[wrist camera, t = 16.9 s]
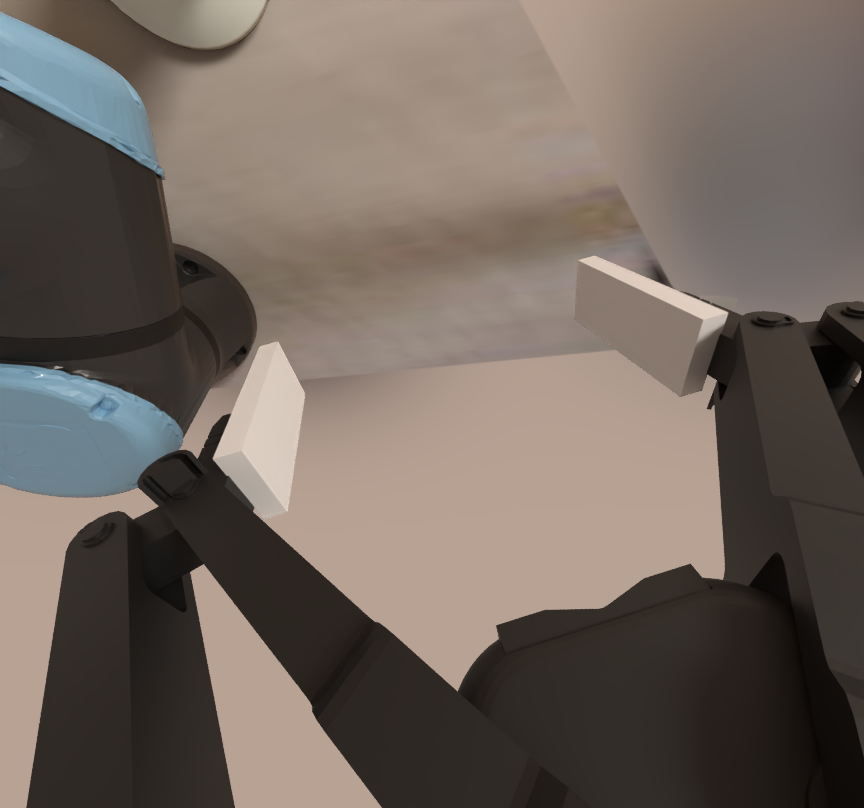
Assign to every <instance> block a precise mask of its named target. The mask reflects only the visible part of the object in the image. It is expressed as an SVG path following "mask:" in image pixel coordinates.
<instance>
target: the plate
mask: <svg viewBox="0 0 864 808" xmlns="http://www.w3.org/2000/svg"><path fill="white" fill-rule="evenodd" d="M111 1H112V2H113V3H114V4H115V5H116V6H117V7H118V8H119V9H120V10H121V11H123V12H124V13H125V14H127V15H128V16H129V17H130V18H132V19H133V20H134V21H135V22H137V23H138V24H140V25H142V26H143V27H145V28H146V29H148V30H149V31H151V32H153V33H154V34H156V35H158V36H160V37H162V38H164V39H166V40H168V41H170V42H172V43H175V44H177V45H180V46H183V47H187V48H192V49H197V50H215V49H222V48H225V47H228V46H231V45H233V44H235V43H237V42H239V41H240V40H242V39H243V38H244V37H246V36H247V35H248V34H249V33H250V32H251V31H252V30H253V29H254V27H255V26H256V25H257V24H258V22H259V20H260V19H261V17H262V15H263V13H264V11H265V9H266V6H267V4H268V1H269V0H111Z"/></svg>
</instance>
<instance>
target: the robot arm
mask: <svg viewBox="0 0 864 808" xmlns="http://www.w3.org/2000/svg"><path fill="white" fill-rule="evenodd" d="M162 180H165V174H164V171H163V169H162V168H161V167H160V166H159V165H158V160H157V156H156V151H155V146H154V142H153V137H152V132H151V128H150V123H149V118H148V114H147V111H146V108H145V106H144V104H143V102H142V100H141V98H140V96H139V95H138V93H137V92H136V91H135V89H134V88H133V87H132V86H131V85H130V84H129V83H128V81H127V80H126V79H125V78H124V77H123V76H121V75H120V74H119V73H118V72H116V71H115V70H114V69H112V68H111V67H110V66H108V65H107V64H105V63H103V62H102V61H100V60H99V59H97V58H95V57H94V56H92V55H90V54H88V53H86V52H84V51H82V50H81V49H79V48H77V47H75V46H73V45H71V44H69V43H67V42H65V41H62V40H60V39H58V38H56V37H54V36H52V35H50V34H48V33H46V32H44V31H42V30H40V29H37V28H35V27H33V26H31V25H29V24H27V23H24V22H22V21H20V20H18V19H16V18H13V17H11V16H9V15H7V14H4V13H2V12H0V484H2V485H6V486H9V487H12V488H15V489H18V490H22V491H26V492H31V493H36V494H42V495H49V496H58V497H101V496H108V495H114V494H118V493H123V492H127V491H129V490H132V489H135V488H137V487H138V488H139V489H140V490H142V491H143V492H144V493H145V494H146V495H147V496H148V497H149V498H150V499H152V500H153V501H154V502H155V503H156V504H157V505H158V506H159V507H157V508H155V509H153V510H151V511H149V512H147V513H145V514H143V515H141V516H140V517H137V518H135V519H134V520H133V519H132V518H130V517H129V516H128V515H127V514H126V513H124V512H120V511H117V512H112V513H108V514H106V515H104V516H102V517H99V518H97V519H96V520H94V521H93V522H91V523H89V524H88V525H86V526H85V527H84V528H83V529H81V530H80V531H79V532H78V533H77V535H76V536H75V537H74V538H73V540H72V541H71V542H70V544H69V546H68V548H67V551H66V556H65V563H64V569H63V576H62V581H61V588H60V595H59V602H58V607H57V614H56V620H55V627H54V633H53V640H52V646H51V652H50V659H49V666H48V672H47V678H46V685H45V691H44V698H43V704H42V711H41V718H40V723H39V730H38V736H37V743H36V749H35V756H34V762H33V769H32V775H31V781H30V788H29V795H28V801H27V807H26V808H235V806H234V801H233V795H232V790H231V785H230V780H229V774H228V769H227V764H226V758H225V754H224V748H223V743H222V737H221V732H220V727H219V722H218V716H217V711H216V706H215V701H214V696H213V690H212V685H211V679H210V674H209V670H208V664H207V659H206V653H205V648H204V643H203V637H202V632H201V627H200V622H199V616H198V611H197V606H196V601H195V596H194V590H193V585H192V580H191V574H190V572H191V571H192V570H194V569H196V568H197V567H199V566H201V565H203V564H204V565H205V566H206V567H207V569H208V570H209V571H210V572H211V574H212V575H213V576H214V578H215V579H216V580H217V581H218V583H219V584H220V585H221V586H222V588H223V589H224V591H225V592H226V593H227V594H228V596H229V597H230V598H231V599H232V601H233V602H234V604H235V605H236V606H237V607H238V609H239V610H240V611H241V613H242V614H243V615H244V617H245V618H246V619H247V620H248V622H249V623H250V624H251V626H252V627H253V628H254V629H255V631H256V632H257V633H258V634H259V636H260V637H261V639H262V640H263V641H264V642H265V644H266V645H267V646H268V648H269V649H270V650H271V651H272V653H273V654H274V655H275V657H276V658H277V659H278V660H279V662H280V663H281V664H282V666H283V667H284V668H285V669H286V671H287V672H288V674H289V675H290V676H291V677H292V679H293V680H294V681H295V683H296V684H297V685H298V686H299V688H300V689H301V690H302V692H303V693H304V694H305V696H306V697H307V698H308V700H309V701H310V703H311V705H312V712H313V714H314V716H315V718H316V719H317V721H318V723H319V724H320V725H321V727H322V728H323V730H324V731H325V733H326V734H327V735H328V737H329V738H330V739H331V740H332V742H333V743H334V745H335V746H336V747H337V748H338V750H339V751H340V752H341V754H342V755H343V756H344V757H345V759H346V760H347V762H348V763H349V764H350V766H351V767H352V768H353V770H354V771H355V772H356V774H357V775H358V776H359V777H360V779H361V780H362V782H363V783H364V784H365V786H366V787H367V788H368V790H369V791H370V792H371V794H372V795H373V796H374V798H375V799H376V800H377V802H378V803H379V804H380V806H381V807H382V808H864V303H863V302H859V301H855V302H842V303H835V304H832V305H830V306H827V308H826V309H825V312H824V313H823V315H822V317H821V319H820V321H814V322H804V323H799V322H798V321H797V320H796V319H795V318H793V317H791V316H789V315H785V314H781V313H777V312H767V311H766V312H765V311H762V312H751V313H747V314H745V315H743V316H742V315H740V314H737V313H735V312H733V311H730V310H728V309H725V308H723V307H721V306H718V305H716V304H713V303H712V304H710V302H709V301H706V300H704V299H701V300H700V298H699V297H697V296H694V295H692V294H689V293H686V292H681V291H677V290H674V289H672V288H670V287H667V286H665V285H662V284H660V283H658V282H655V281H653V280H651V279H648V278H646V277H644V276H641V275H639V274H637V273H634V272H632V271H629V270H627V269H625V268H622V267H620V266H618V265H615V264H613V263H611V262H608V261H606V260H604V259H601V258H599V257H596V256H592V257H588V258H584V259H581V260H578V267H577V284H576V301H575V318H574V319H575V320H576V321H578V322H579V323H580V324H582V325H583V326H584V327H586V328H587V329H588V330H590V331H591V332H593V333H594V334H595V335H597V336H598V337H599V338H601V339H602V340H603V341H605V342H606V343H607V344H609V345H610V346H612V347H613V348H614V349H616V350H617V351H618V352H620V353H621V354H622V355H624V356H625V357H627V358H628V359H629V360H631V361H632V362H633V363H635V364H636V365H638V366H639V367H640V368H642V369H643V370H644V371H646V372H647V373H648V374H650V375H651V376H653V377H654V378H655V379H656V380H658V381H659V382H661V383H662V384H663V385H665V386H666V387H668V388H669V389H670V390H672V391H673V392H675V393H676V394H677V395H678V396H680V397H682V396H685V395H688V394H692V393H695V392H698V391H702V389H703V386H704V383H705V380H706V377H707V374H708V375H709V376H711V377H713V378H714V379H716V380H717V383H716V386H715V388H714V391H713V394H712V396H711V399H710V402H709V404H708V407H707V409H711V408H712V406H713V405H715V419H716V436H717V451H718V466H719V480H720V496H721V511H722V526H723V541H724V556H725V573H724V578H723V580H719V579H711V578H702V577H701V576H700V575H699V573H698V572H697V571H696V570H695V569H694V567H693V566H692V565H691V564H688V565H685V566H682V567H679V568H676V569H672V570H669V571H666V572H663V573H660V574H657V575H653V576H650V577H648V578H644V579H643V580H641V581H640V582H639V583H637V584H636V585H635V586H633V587H632V588H630V589H629V590H628V591H626V592H625V593H624V594H622V595H621V596H620V597H618V598H617V599H616V600H614V601H613V602H611V603H610V604H609V605H607V606H606V607H604V608H601V609H573V610H572V609H571V610H543V611H541V612H537V613H534V614H531V615H528V616H524V617H521V618H518V619H515V620H512V621H509V622H506V623H503V624H499V625H497V626H496V627H497V632H498V637H499V639H498V640H497V641H496V642H494V643H493V644H492V645H490V646H489V647H488V648H487V649H486V650H485V651H484V652H483V653H482V654H481V655H480V656H479V657H478V658H477V659H476V661H475V662H474V663H473V664H472V666H471V667H470V669H469V671H468V672H467V674H466V675H465V677H464V679H463V681H462V683H461V685H460V688H459V690H458V692H457V691H456V690H455V689H454V688H453V687H452V686H451V685H449V684H448V683H447V682H446V681H445V680H444V679H443V678H442V677H441V676H439V675H438V674H437V673H436V672H435V671H434V670H433V669H432V668H430V667H429V666H428V665H427V664H426V663H425V662H424V661H423V660H421V659H420V658H419V657H418V656H417V655H416V654H415V653H414V652H413V651H411V650H410V649H409V648H408V647H407V646H406V645H405V644H404V643H403V642H401V641H400V640H399V639H398V638H397V637H396V636H395V635H394V634H392V633H391V632H390V631H389V630H388V629H387V628H385V627H384V626H383V625H381V624H380V623H378V622H374V621H373V620H372V619H371V618H369V617H368V616H367V615H366V614H365V613H364V612H362V611H361V609H359V608H358V607H357V606H356V605H355V604H354V603H353V602H352V601H351V600H349V599H348V598H347V597H346V596H345V595H344V594H343V593H342V592H341V591H339V590H338V589H337V588H336V587H335V586H334V585H333V584H332V583H331V582H330V581H328V580H327V579H326V578H325V577H324V576H323V575H322V574H321V573H320V572H319V571H317V570H316V569H315V568H314V567H313V566H312V565H311V564H310V563H309V562H307V561H306V560H305V559H304V558H303V557H302V556H301V555H300V554H298V552H296V551H295V550H294V549H293V548H292V547H291V546H290V545H289V544H287V542H285V541H284V540H283V539H282V538H281V537H280V536H279V535H278V534H276V533H275V532H274V531H273V530H272V529H271V528H270V527H269V526H268V525H267V524H266V523H264V522H263V521H262V520H261V519H260V518H259V517H258V516H257V515H256V514H254V513H253V510H254V509H255V510H256V511H257V513H258V514H259V515H260V516H261V517H262V519H266V518H269V517H273V516H277V515H280V514H283V513H287V512H288V505H289V499H290V492H291V485H292V479H293V472H294V466H295V459H296V452H297V445H298V439H299V433H300V426H301V419H302V413H303V406H304V399H305V393H304V391H303V389H302V387H301V385H300V383H299V381H298V379H297V377H296V375H295V373H294V371H293V370H292V368H291V366H290V364H289V362H288V360H287V358H286V356H285V354H284V352H283V350H282V348H281V346H280V344H279V343H278V342H274V343H270V344H267V345H263V346H260V347H259V349H258V352H257V354H256V356H255V359H254V361H253V364H252V366H251V368H250V371H249V373H248V376H247V378H246V380H245V383H244V385H243V388H242V390H241V392H240V395H239V397H238V400H237V402H236V404H235V407H234V409H233V412H232V413H231V414H227V415H224V416H222V417H221V418H220V419H219V421H218V422H217V423H216V424H215V425H214V426H213V427H212V429H211V431H210V433H209V436H208V439H207V440H206V442H205V444H204V448H202V451H201V453H200V455H199V457H198V459H197V458H196V457H195V456H194V455H193V453H192V452H190V451H187V450H179V449H180V447H181V446H182V443H183V438H184V436H185V434H186V432H187V430H188V428H189V427H190V424H191V423H192V421H193V419H194V417H195V415H196V413H197V412H198V410H199V408H200V406H201V404H202V402H203V400H204V399H205V397H206V395H207V393H208V391H209V389H210V387H211V386H212V383H213V382H214V381H216V380H218V379H220V378H222V377H223V376H225V375H227V374H229V373H231V372H232V371H234V370H235V369H236V368H237V367H238V366H239V365H240V364H241V363H242V362H243V361H244V360H245V359H246V357H247V356H248V354H249V352H250V350H251V347H252V345H253V343H254V340H255V337H256V330H257V321H256V315H255V311H254V308H253V305H252V302H251V300H250V298H249V296H248V294H247V293H246V291H245V290H244V288H243V287H242V285H241V284H240V283H239V282H238V280H237V279H236V278H235V277H234V276H233V275H232V274H231V273H230V272H229V271H228V270H227V269H225V268H224V267H223V266H222V265H220V264H219V263H218V262H216V261H215V260H213V259H212V258H210V257H208V256H206V255H205V254H203V253H201V252H199V251H196V250H194V249H191V248H189V247H186V246H182V245H179V244H174V243H172V237H171V231H170V225H169V219H168V214H167V208H166V202H165V196H164V190H163V184H162ZM860 370H861V371H862V373H861V378H860V381H859V383H857V382H856V381H855V378H856V377H857V375H858V374H859V372H860Z"/></svg>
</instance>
